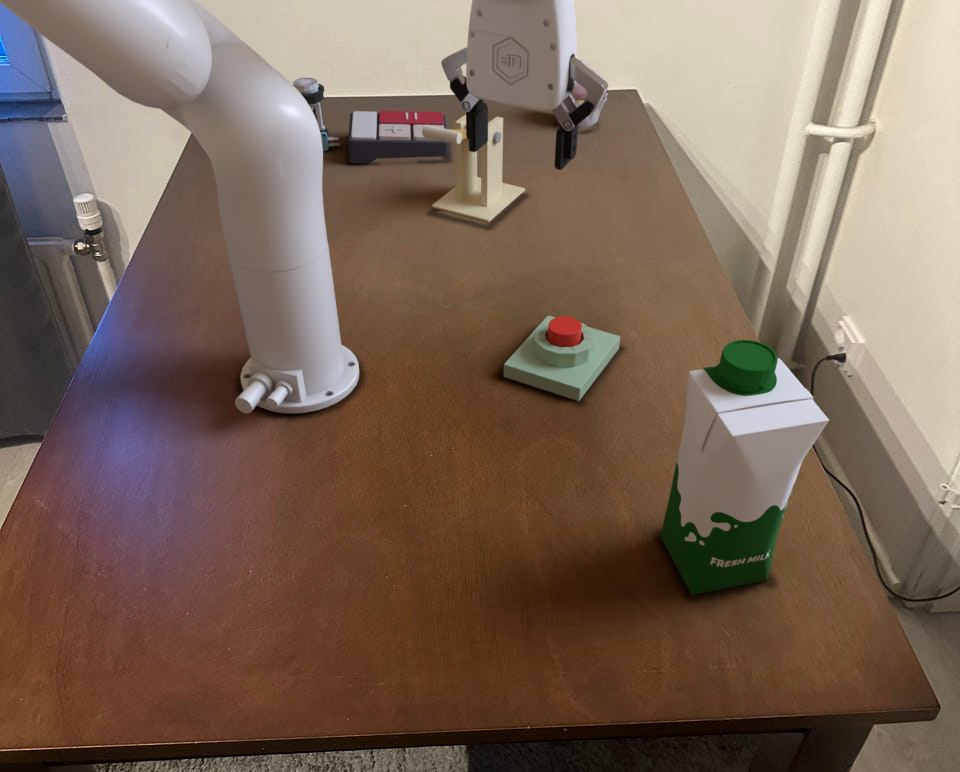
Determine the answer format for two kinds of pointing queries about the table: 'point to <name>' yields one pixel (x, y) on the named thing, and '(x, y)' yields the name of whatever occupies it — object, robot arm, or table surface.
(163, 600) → the table surface
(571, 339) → the red button
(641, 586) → the table surface
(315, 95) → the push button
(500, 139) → the switch bracket
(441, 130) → the switch lever
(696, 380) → the milk carton
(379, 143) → the calculator
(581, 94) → the cupcake
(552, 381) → the switch box
